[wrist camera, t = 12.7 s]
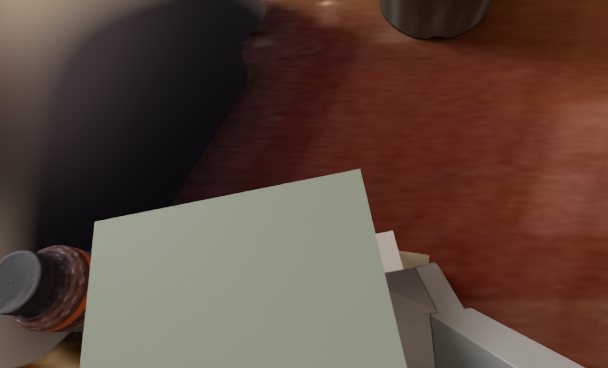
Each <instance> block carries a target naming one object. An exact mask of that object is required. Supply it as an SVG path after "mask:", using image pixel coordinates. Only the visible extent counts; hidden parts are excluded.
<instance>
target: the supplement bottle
mask: <svg viewBox="0 0 608 368" xmlns="http://www.w3.org/2000/svg"><path fill="white" fill-rule="evenodd" d="M91 254H92V253H90V252H87V251H84V250H80V249H76V248H73V247H70V246H61V245H60V246H52V247H48V248H45V249H43V250H41V251H39V252H32V251H25V250H24V251H16V252H13V253H11V254H9V255H7V256H6V257H4V258H3V259H2V260H1V261H0V314H2V315H10V316H11V318H12V320H13V321H14V322H15V323H16V324H17V325H19V326H20V327H22V328H24V329H27V330H31V331H44V332H83V331H84V321H85V312H86V302H87V292H88V283H89V273H90V263H91Z"/></svg>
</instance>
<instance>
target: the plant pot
mask: <svg viewBox="0 0 608 368" xmlns="http://www.w3.org/2000/svg"><path fill="white" fill-rule="evenodd" d="M492 1H493V0H380V5H381V10H382V13H383V15H384V17H385V18H386V20H387V21H388V22H389V23H390V24H391V25H392V26H393V27H395V28H396V29H397V30H399V31H401V32H402V33H404V34H407V35H409V36H412V37H414V38H420V39H428V38H431V37H435V36H436V37H443V38H450V37H454V36H457V35H459V34H462V33H464V32H466V31H468V30H469V29H471V28H473V27H474V26H475V25H476V24H478V23H479V22H480V21H481V20H482V19H483V17H484V16H485V15H486V13H487V11H488V10H489V7H490V5H491V3H492Z"/></svg>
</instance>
